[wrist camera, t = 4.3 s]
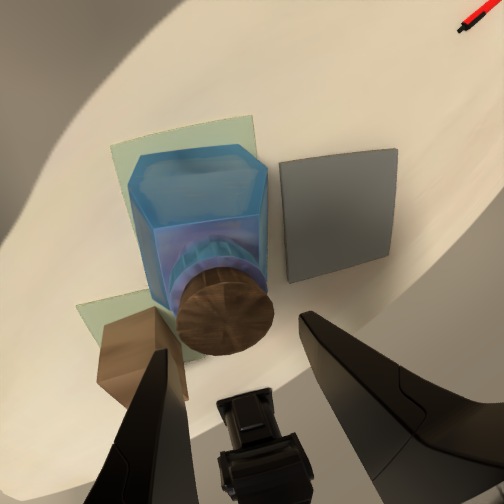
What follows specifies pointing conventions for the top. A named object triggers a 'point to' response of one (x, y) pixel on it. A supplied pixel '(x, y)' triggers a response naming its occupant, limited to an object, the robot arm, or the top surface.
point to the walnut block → (135, 353)
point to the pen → (477, 15)
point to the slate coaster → (337, 210)
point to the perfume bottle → (206, 243)
